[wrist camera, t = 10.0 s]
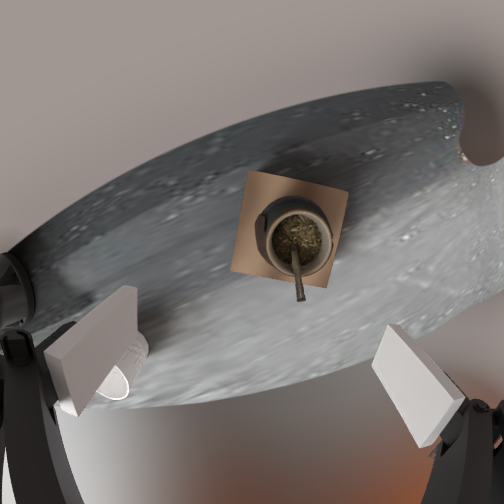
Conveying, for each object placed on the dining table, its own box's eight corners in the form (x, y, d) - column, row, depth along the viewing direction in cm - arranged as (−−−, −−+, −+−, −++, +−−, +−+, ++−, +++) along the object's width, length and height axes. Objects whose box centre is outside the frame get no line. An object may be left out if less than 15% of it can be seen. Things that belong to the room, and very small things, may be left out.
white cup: (119, 312, 38) (87, 343, 28) (160, 342, 39) (137, 380, 29) (104, 343, 40) (75, 375, 30) (141, 370, 40) (119, 407, 31)
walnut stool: (234, 257, 36) (230, 270, 30) (250, 173, 33) (248, 169, 27) (316, 272, 36) (326, 288, 30) (334, 191, 33) (349, 191, 28)
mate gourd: (317, 189, 28) (347, 191, 18) (326, 258, 29) (356, 291, 20) (249, 200, 28) (245, 206, 18) (261, 269, 30) (264, 308, 20)
